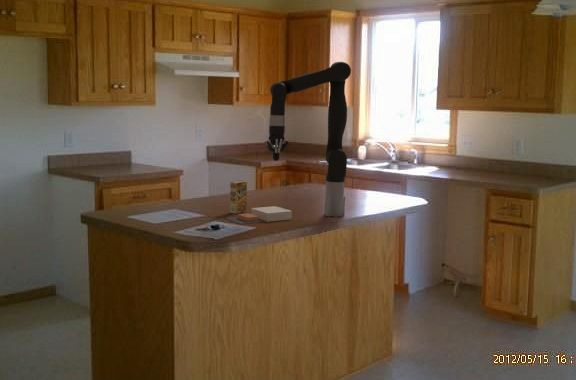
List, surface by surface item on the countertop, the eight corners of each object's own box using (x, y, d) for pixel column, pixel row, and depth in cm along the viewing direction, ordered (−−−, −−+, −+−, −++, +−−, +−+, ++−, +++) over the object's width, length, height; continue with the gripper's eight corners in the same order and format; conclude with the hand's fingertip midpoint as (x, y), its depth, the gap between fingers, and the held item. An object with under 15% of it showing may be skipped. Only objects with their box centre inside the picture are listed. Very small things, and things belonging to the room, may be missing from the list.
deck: (275, 214, 338) (275, 206, 337) (291, 219, 327) (291, 211, 326) (251, 216, 330) (251, 208, 329) (267, 221, 319) (267, 213, 318)
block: (237, 214, 322) (237, 218, 322) (247, 217, 315) (247, 221, 315) (248, 213, 325) (247, 217, 326) (258, 216, 318) (258, 220, 319)
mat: (250, 216, 329) (250, 215, 329) (266, 221, 318) (266, 221, 318) (225, 218, 321) (225, 218, 321) (240, 224, 310) (240, 223, 310)
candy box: (236, 214, 335) (236, 183, 332) (229, 212, 337) (230, 182, 335) (247, 211, 342) (247, 181, 340) (240, 210, 344) (241, 180, 342)
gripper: (283, 124, 335) (282, 159, 338) (261, 124, 328) (260, 160, 330) (292, 125, 329) (291, 160, 332) (270, 125, 322) (268, 161, 324)
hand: (275, 160), depth 331 cm, fingers closed
